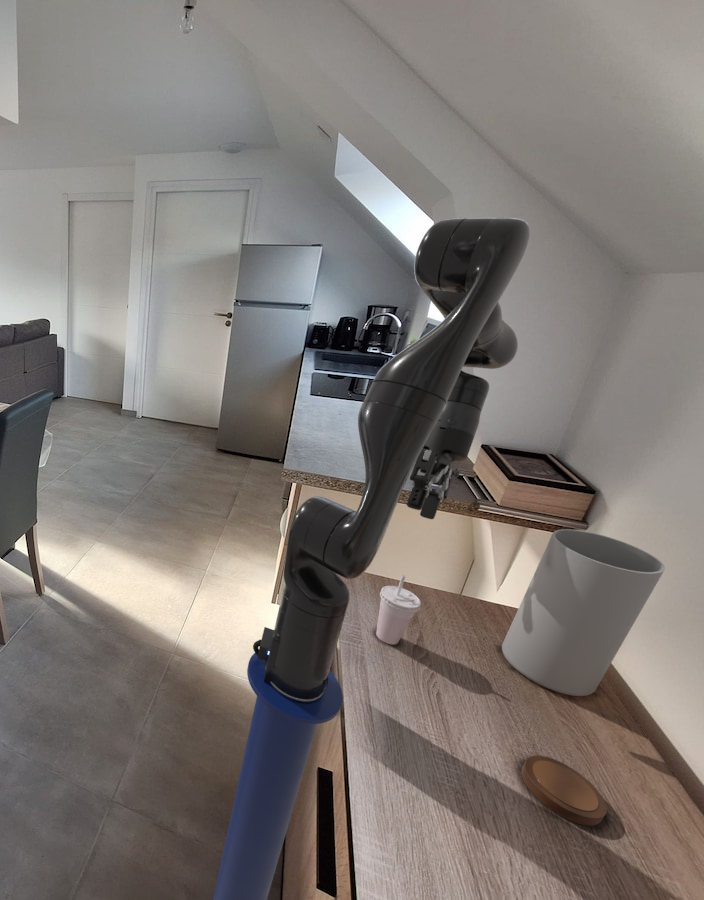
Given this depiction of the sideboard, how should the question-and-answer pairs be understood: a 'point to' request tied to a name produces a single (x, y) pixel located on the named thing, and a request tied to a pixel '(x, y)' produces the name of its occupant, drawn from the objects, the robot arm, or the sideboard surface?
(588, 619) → the cylinder vase
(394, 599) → the smoothie
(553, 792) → the coaster
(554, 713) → the sideboard surface
